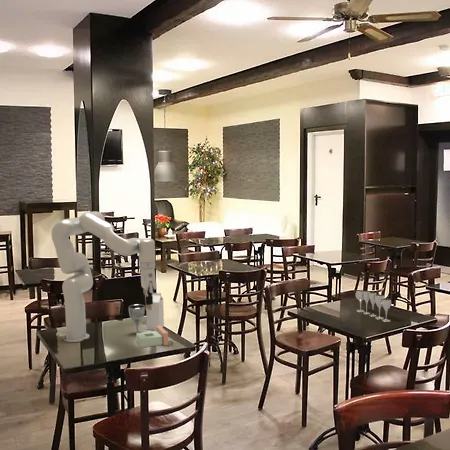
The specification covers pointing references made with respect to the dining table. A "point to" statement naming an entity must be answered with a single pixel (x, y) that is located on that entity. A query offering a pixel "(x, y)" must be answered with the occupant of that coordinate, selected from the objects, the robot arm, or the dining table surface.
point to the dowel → (148, 307)
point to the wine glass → (136, 313)
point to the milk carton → (155, 313)
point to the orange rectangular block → (163, 334)
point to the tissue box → (149, 339)
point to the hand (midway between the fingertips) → (148, 303)
